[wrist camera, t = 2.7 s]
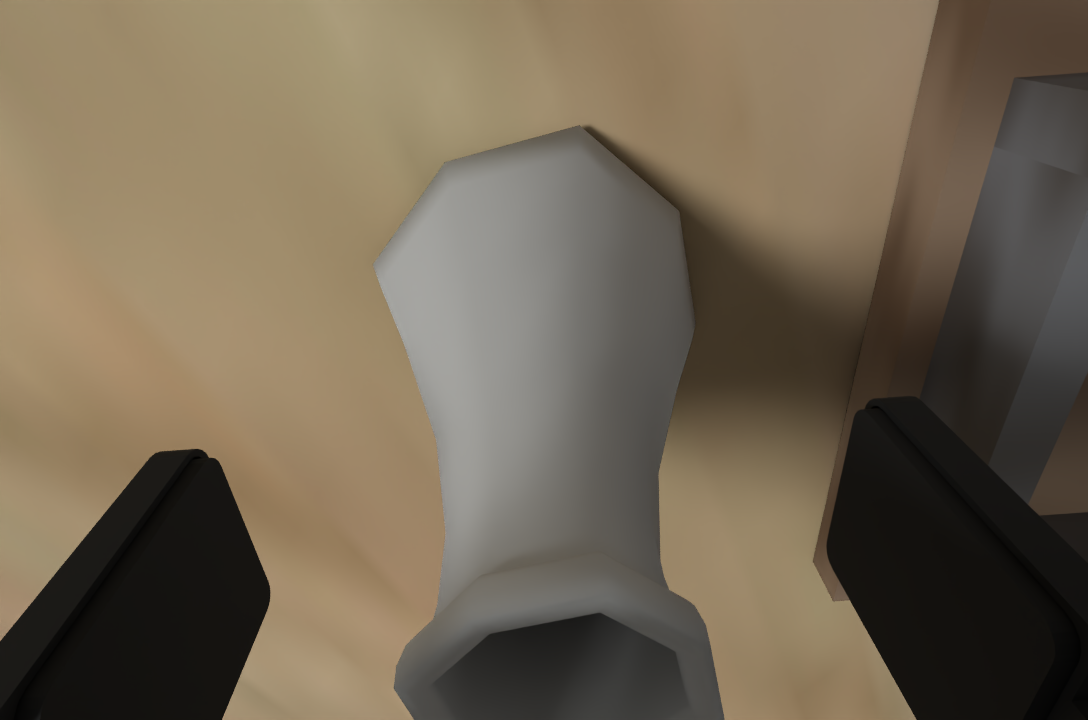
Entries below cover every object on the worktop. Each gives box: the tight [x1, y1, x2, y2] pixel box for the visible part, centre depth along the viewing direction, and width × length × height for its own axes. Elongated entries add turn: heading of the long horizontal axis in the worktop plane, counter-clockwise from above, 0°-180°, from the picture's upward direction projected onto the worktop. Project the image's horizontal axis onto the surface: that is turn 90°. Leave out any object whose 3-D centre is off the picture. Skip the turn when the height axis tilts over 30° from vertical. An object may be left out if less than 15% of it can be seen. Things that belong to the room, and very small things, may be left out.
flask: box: [373, 125, 724, 720], centre depth 10 cm, size 7×7×10 cm
